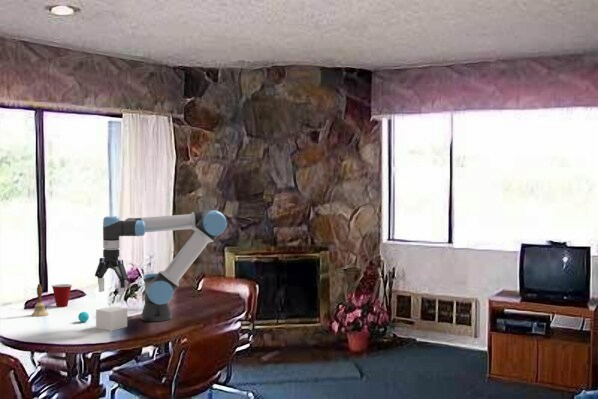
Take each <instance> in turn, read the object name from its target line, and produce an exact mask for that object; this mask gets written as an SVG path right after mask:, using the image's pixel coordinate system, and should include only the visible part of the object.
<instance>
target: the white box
mask: <svg viewBox="0 0 598 399" xmlns="http://www.w3.org/2000/svg"><path fill="white" fill-rule="evenodd" d="M95 328H96V329H100V330H105V331H109V332H110V331H116V330H119V329H124V328H128V308H126V307H120V306H114V305H112V306H107V307H102V308H97V309H96V310H95Z"/></svg>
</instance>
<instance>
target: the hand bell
mask: <svg viewBox="0 0 598 399" xmlns="http://www.w3.org/2000/svg"><path fill="white" fill-rule="evenodd" d="M36 294H37V304H35V306H34V310H33V311H32V314H31V316H32V317H34V316H35V317H39V318H41V317H46V316H48V315H49V312H48V311H47V310H46V307H45V304H44V303H43V302H42V294H43V288H42V284H40V283H39V284H37V287H36Z"/></svg>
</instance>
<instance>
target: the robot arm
mask: <svg viewBox="0 0 598 399" xmlns="http://www.w3.org/2000/svg"><path fill="white" fill-rule="evenodd" d="M102 220H103V221H102V239H103V240H102V244H103V245H102V248H103V249H102V257H100V258H99V259H98V260H99V261H98V265H97V267H96V271H95V273H94V277H97V283H98V292H99V293H102V292H105V275H106V273H107V271H108V269H111V270H113V271H114V273H115V275H116V276H117V278H118V279H119V280H118V296H122V295H124V294H125V285H126V284H125V283H126V281H127V280H129V277H128V274H127V271H126V268H125V265H124V259H119V257H120V237H143V236H144V235H145V233H155V232H166V231H167V232H168V231H180V230H181V231H182V230H193V231H194V232H193V233H192V235H191V236H190V238H189V239H188V240H187V241H186V242H185V244H184V245H183V246H182V247H181V249H180V250H179V252H178V253H177V254H176V255H175V256H174V258H173V259H172V261H171V262H170V263H169V264H168V266H166V268H165V269H164V270H162V271H161V270H160V271H159V272H157V273H155V272H154V273H145V275H144V305H143V308H142V313H141V314H140V315H141V316H140V319H141V320H142V321H145V322H164V321H169V320H171V319H172V312H171V309H170V305H169V302H170V301H171V300H172V298H173V297H174V293H175V291H176V290H178V287H179V286H180V284H179V281H180V280H181V278H182V277H183V276H184V275H185V273H186V272H187V271H188V270H189V268H190V267H191V266H192V265H193V263H194V262H195V260H196V259H197V258H198V257H199V256H200V255H201V253H202V252H203V251H204V249H205V248H206V246H208V244H209V243H212V242H214V241H215V240H216V239H217V238H218V236H219V235H221V234H223V233H224V231H225V230H226V228H227V225H228V223H227V218H226V216H225V215H224V214H223V213H222V212H220V211H218V210H215V209H204V210H200V211H192V212H191V213H189V214H175V215H174V214H172V215H160V216H159V215H158V216H148V217H147V216H145V217H135V218H134V217H127V218H126V219H124V220H121V219H120V217H119V216H113V215H112V216H104V218H103V219H102Z"/></svg>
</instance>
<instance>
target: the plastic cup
mask: <svg viewBox="0 0 598 399" xmlns="http://www.w3.org/2000/svg"><path fill="white" fill-rule="evenodd" d="M72 286H73V284H66V283H59V284H58V283H57V284H52V285H51V287H52V290H53V296H54V300H55V301H54V302H55V306H56V307H57V308H65V307H68V304H69V300H70V295H71V294H70V293H71V289H72Z"/></svg>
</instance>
